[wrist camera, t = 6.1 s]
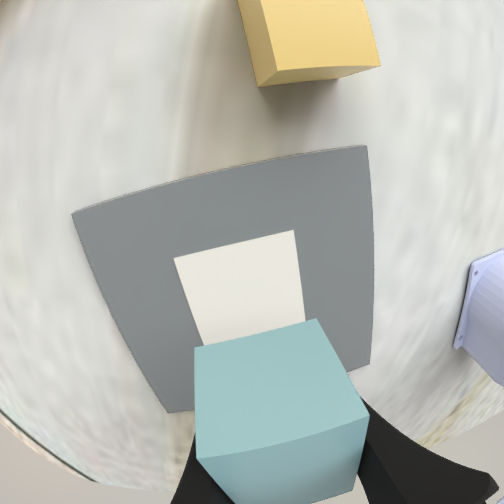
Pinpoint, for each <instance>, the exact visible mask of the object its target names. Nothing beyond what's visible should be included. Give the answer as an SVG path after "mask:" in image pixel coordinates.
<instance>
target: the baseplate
mask: <svg viewBox="0 0 504 504" xmlns="http://www.w3.org/2000/svg"><path fill="white" fill-rule="evenodd" d="M71 215H72V218H73V221H74V224H75V227H76V230H77V233H78V235H79V238H80V241H81V244H82V246H83V249H84V252H85V254H86V257H87V259H88V262H89V264H90V267H91V269H92V272H93V274H94V276H95V279H96V281H97V283H98V286H99V288H100V290H101V293H102V295H103V297H104V299H105V301H106V304H107V306H108V308H109V310H110V312H111V314H112V316H113V318H114V320H115V322H116V324H117V326H118V328H119V330H120V332H121V334H122V336H123V338H124V340H125V342H126V344H127V346H128V348H129V350H130V351H131V353H132V355H133V357H134V359H135V360H136V362H137V364H138V366H139V368H140V369H141V371H142V373H143V374H144V376H145V378H146V380H147V381H148V383H149V385H150V386H151V388H152V389H153V391H154V393H155V394H156V396H157V397H158V399H159V401H160V402H161V404H162V405H163V407H164V408H165V410H166V411H167V413H175V412H182V411H189V410H195V386H194V349H195V347H200V346H204V345H209V344H214V343H219V342H223V341H228V340H232V339H237V338H241V337H245V336H250V335H254V334H258V333H262V332H266V331H270V330H274V329H278V328H282V327H286V326H289V325H293V324H297V323H301V322H304V321H308V320H311V319H315V318H317V320H318V322H319V324H320V325H321V327H322V329H323V331H324V333H325V334H326V336H327V338H328V340H329V342H330V343H331V345H332V347H333V349H334V350H335V352H336V354H337V356H338V358H339V360H340V361H341V363H342V365H343V367H344V369H345V370H346V372H349V371H352V370H355V369H357V368H360V367H363V366H366V365H368V364H370V354H371V341H372V326H373V303H374V233H373V210H372V194H371V182H370V170H369V160H368V151H367V146H366V145H356V146H348V147H341V148H334V149H327V150H320V151H314V152H308V153H302V154H296V155H290V156H284V157H279V158H274V159H268V160H263V161H258V162H253V163H248V164H244V165H239V166H234V167H230V168H225V169H221V170H216V171H212V172H208V173H204V174H199V175H195V176H191V177H187V178H183V179H180V180H176V181H172V182H168V183H164V184H161V185H157V186H154V187H150V188H146V189H143V190H140V191H136V192H133V193H129V194H126V195H123V196H120V197H116V198H113V199H110V200H107V201H104V202H101V203H97V204H94V205H91V206H88V207H85V208H83V209H80V210H77V211H75V212H73V213H72V214H71Z"/></svg>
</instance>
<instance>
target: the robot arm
mask: <svg viewBox="0 0 504 504" xmlns="http://www.w3.org/2000/svg"><path fill="white" fill-rule="evenodd" d="M461 346H462V347H463V348H464V349H465V350H466V351H467V352H468V353H469V354H470V355H471V357H472V358H473V359H474V360H475V361H476V362H477V363H478V364H479V365H480V366H481V367H482V368H483V369H484V370H485V372H486V373H487V374H488V375H489V376H490V377H491V378H492V379H493V380H494V381H495V382H496V383H498V384H500V385H502V386H504V249H502V250H500V251H498V252H495V253H493V254H491V255H489V256H486V257H484V258H482V259H479V260H477V261H475V262H473V263H472V265H471V267H470V273H469V279H468V285H467V290H466V295H465V300H464V305H463V309H462V314H461V318H460V322H459V326H458V330H457V333H456V337H455V341H454V344H453V347H454V348H455V349H458V348H460V347H461ZM360 398H361V397H360ZM361 400H362V402H363V403H364V405H365V407H366V409H367V411H368V413H369V415H370V417H369V422H368V427H367V432H366V437H365V442H364V446H363V451H362V455H361V459H360V464H359V468H358V472H357V474H358V476H359V478H360V480H361V483H362V485H363V487H364V490H365V493H366V496H367V499H368V501H369V504H486V502H485V500H487V499H488V498H489V497H491V496H492V495H493V494H494V493H496V492H497V491H498V490H499V486H498V485H497V483H496V482H495V480H494V479H493V478H492V477H491V476H490V475H489V474H488V473H486V472H482V471H478V470H475V469H472V468H468V467H465V466H463V465H460V464H457V463H454V462H452V461H450V460H448V459H446V458H444V457H441V456H439V455H437V454H435V453H433V452H431V451H429V450H428V449H426V448H424V447H422V446H421V445H419V444H417V443H416V442H414V441H413V440H411V439H410V438H408V437H407V436H405V435H404V434H403V433H401V432H400V431H399V430H397V429H396V428H395V427H393V426H392V425H391V424H390V423H388V422H387V421H386V420H385V419H384V418H382V417H381V416H380V415H379V414H378V413H377V412H376V411H375V410H373V409H372V408H371V407H370V406H369V405H368V404H367V403H366V402H365V401H364V400H363V399H362V398H361ZM171 504H235V503H234V502H233V501H232V500H231V498H230V497H229V496H228V495H227V494H226V493H225V492H224V491H223V490H222V489H221V487H220V486H219V485H218V484H217V483H216V482H215V480H214V479H213V478H212V477H211V476H210V475H209V473H208V472H207V471H206V470H205V468H204V467H203V466H202V465H201V464H200V462H199V461H198V460H197V458H196V434H195V435H194V439H193V443H192V447H191V451H190V454H189V457H188V460H187V463H186V467H185V470H184V472H183V475H182V478H181V480H180V483H179V485H178V488H177V490H176V493H175V495H174V497H173V499H172V501H171ZM496 504H504V497H502V498H501V499H500V500H499V501H497V503H496Z"/></svg>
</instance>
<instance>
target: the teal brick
mask: <svg viewBox="0 0 504 504" xmlns="http://www.w3.org/2000/svg"><path fill="white" fill-rule="evenodd" d="M194 386H195V434H196V458H197V460H198V461H199V462H200V464H201V465H202V466H203V467H204V468H205V470H206V471H207V472H208V473H209V475H210V476H211V477H212V478H213V479H214V480H215V482H216V483H217V484H218V485H219V486H220V487H221V489H222V490H223V491H224V492H225V493H226V494H227V495H228V496H229V497H230V498H231V500H232V501H233V502H234V503H235V504H311V503H315V502H318V501H322V500H325V499H328V498H331V497H334V496H338V495H341V494H344V493H346V492H349V491H352V490H353V487H354V483H355V479H356V475H357V472H358V468H359V464H360V459H361V455H362V451H363V446H364V442H365V437H366V432H367V427H368V422H369V417H370V415H369V413H368V411H367V409H366V407H365V405H364V403H363V402H362V400H361V398H360V396H359V394H358V392H357V391H356V389H355V387H354V385H353V383H352V381H351V380H350V378H349V376H348V374H347V372H346V370H345V369H344V367H343V365H342V363H341V361H340V360H339V358H338V356H337V354H336V352H335V350H334V349H333V347H332V345H331V343H330V342H329V340H328V338H327V336H326V334H325V333H324V331H323V329H322V327H321V325H320V324H319V322H318V320H317V318H315V319H311V320H308V321H304V322H301V323H297V324H293V325H289V326H286V327H282V328H278V329H274V330H270V331H266V332H262V333H258V334H254V335H250V336H245V337H241V338H237V339H232V340H228V341H223V342H219V343H214V344H209V345H204V346H200V347H195V349H194Z"/></svg>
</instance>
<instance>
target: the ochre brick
mask: <svg viewBox="0 0 504 504" xmlns="http://www.w3.org/2000/svg"><path fill="white" fill-rule="evenodd" d="M237 1H238V5H239V9H240V13H241V17H242V21H243V26H244V30H245V34H246V38H247V43H248V47H249V51H250V56H251V60H252V64H253V69H254V73H255V78H256V83H257V87H264V86H271V85H278V84H286V83H294V82H304V81H315V80H328V79H339V78H342V77H345V76H348V75H352V74H355V73H358V72H361V71H365V70H368V69H372V68H375V67H379V66H381V64H380V60H379V55H378V51H377V47H376V43H375V39H374V35H373V31H372V28H371V24H370V20H369V17H368V14H367V10H366V7H365V4H364V1H363V0H237Z"/></svg>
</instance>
